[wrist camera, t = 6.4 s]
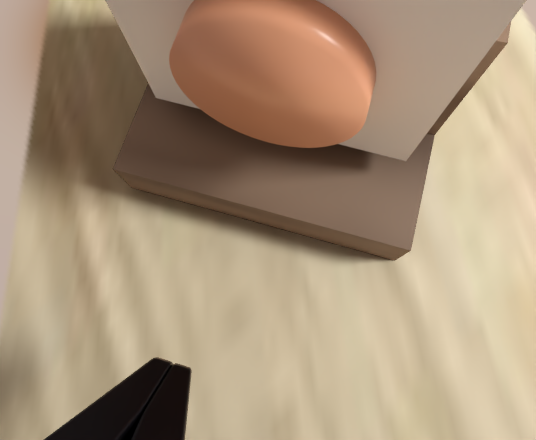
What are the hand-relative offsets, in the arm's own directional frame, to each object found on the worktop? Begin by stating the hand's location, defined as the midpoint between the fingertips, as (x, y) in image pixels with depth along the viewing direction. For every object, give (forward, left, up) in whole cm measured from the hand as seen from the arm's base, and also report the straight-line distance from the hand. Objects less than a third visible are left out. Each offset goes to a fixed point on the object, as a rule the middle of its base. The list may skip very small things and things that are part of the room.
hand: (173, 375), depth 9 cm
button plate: (+8, +2, -4) cm, 9 cm away
